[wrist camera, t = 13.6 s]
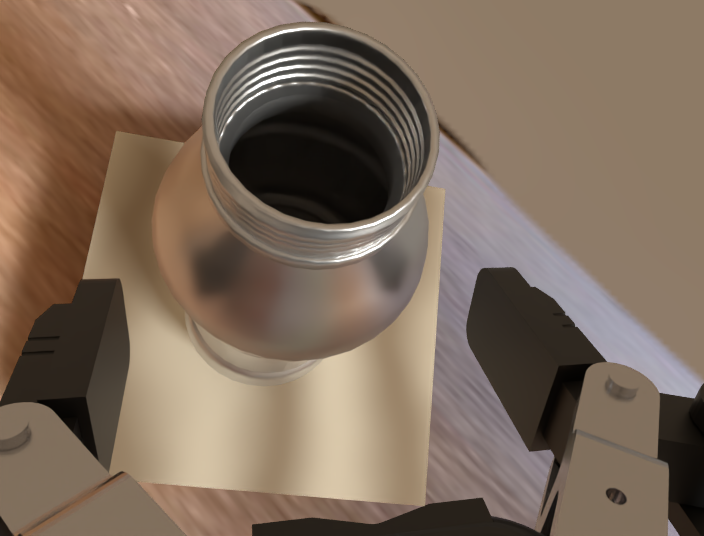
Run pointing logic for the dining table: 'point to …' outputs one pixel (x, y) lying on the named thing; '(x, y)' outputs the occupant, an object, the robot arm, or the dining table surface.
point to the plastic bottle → (298, 202)
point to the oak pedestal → (260, 401)
